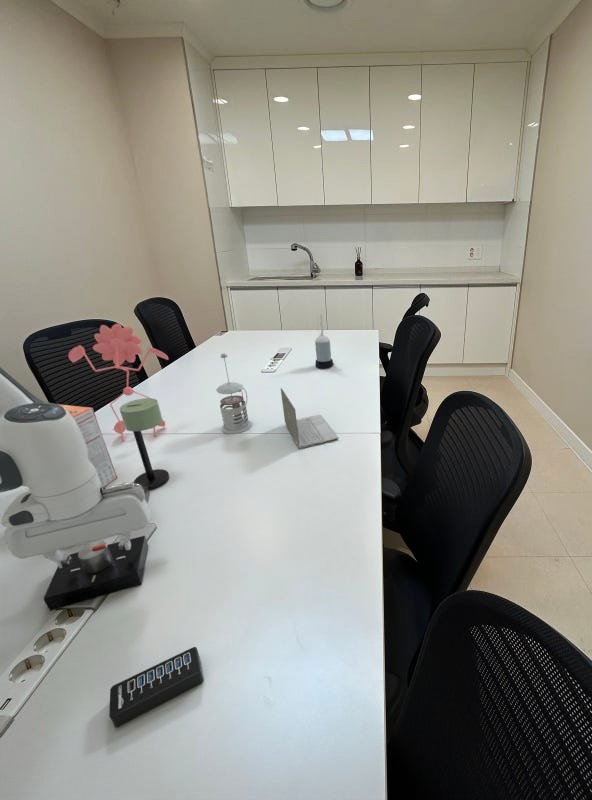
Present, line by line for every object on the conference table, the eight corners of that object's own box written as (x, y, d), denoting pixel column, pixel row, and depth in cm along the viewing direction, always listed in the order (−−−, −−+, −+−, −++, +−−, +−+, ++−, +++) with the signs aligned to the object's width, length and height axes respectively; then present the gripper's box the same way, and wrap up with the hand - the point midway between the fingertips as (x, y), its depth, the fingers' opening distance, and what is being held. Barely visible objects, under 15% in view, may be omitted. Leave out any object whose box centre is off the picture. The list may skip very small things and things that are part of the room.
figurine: (184, 433, 124) (156, 324, 109) (91, 447, 117) (49, 333, 103) (189, 413, 137) (165, 314, 123) (106, 425, 130) (71, 322, 116)
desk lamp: (132, 494, 95) (106, 416, 86) (137, 477, 102) (113, 402, 93) (176, 484, 98) (155, 408, 90) (178, 468, 105) (159, 396, 96)
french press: (214, 431, 124) (198, 357, 114) (236, 416, 134) (223, 346, 124) (241, 435, 121) (227, 359, 111) (261, 419, 131) (250, 348, 121)
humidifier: (336, 366, 180) (332, 312, 170) (319, 370, 177) (315, 315, 166) (329, 362, 187) (325, 310, 177) (313, 365, 183) (308, 312, 173)
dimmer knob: (81, 576, 69) (74, 560, 67) (87, 558, 72) (81, 543, 71) (109, 569, 70) (103, 553, 69) (114, 552, 74) (108, 536, 72)
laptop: (338, 439, 117) (336, 400, 112) (298, 449, 113) (293, 409, 107) (321, 416, 132) (317, 380, 127) (284, 424, 128) (279, 387, 123)
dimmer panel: (49, 611, 66) (42, 598, 65) (67, 567, 74) (61, 555, 73) (141, 584, 70) (137, 571, 69) (148, 546, 79) (144, 534, 78)
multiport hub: (204, 682, 55) (200, 671, 54) (114, 729, 50) (108, 718, 49) (199, 655, 58) (196, 645, 57) (115, 696, 53) (110, 686, 52)
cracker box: (54, 485, 99) (23, 412, 91) (76, 472, 105) (48, 401, 96) (99, 492, 96) (70, 417, 88) (118, 478, 102) (93, 406, 93)
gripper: (142, 470, 71) (161, 529, 77) (5, 499, 64) (36, 561, 70) (137, 489, 66) (158, 551, 71) (-14, 523, 59) (22, 588, 65)
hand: (96, 556), depth 71 cm, fingers open, 8 cm apart
